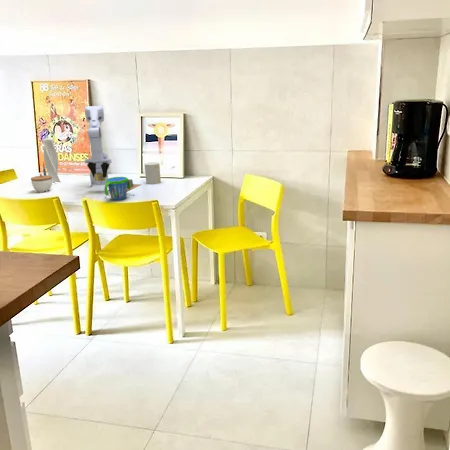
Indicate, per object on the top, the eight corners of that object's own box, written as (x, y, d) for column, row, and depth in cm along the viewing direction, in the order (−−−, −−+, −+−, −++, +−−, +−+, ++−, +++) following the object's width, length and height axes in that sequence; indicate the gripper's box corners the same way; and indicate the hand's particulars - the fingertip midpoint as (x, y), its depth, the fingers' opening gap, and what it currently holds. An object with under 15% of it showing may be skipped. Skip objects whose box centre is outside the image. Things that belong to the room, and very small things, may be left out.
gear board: (106, 193, 258) (105, 185, 257) (122, 185, 275) (121, 178, 274) (126, 194, 255) (126, 186, 254) (142, 186, 271) (141, 179, 270)
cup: (158, 186, 271) (156, 164, 267) (144, 186, 272) (142, 164, 269) (162, 183, 278) (161, 162, 275) (149, 183, 280) (147, 162, 276)
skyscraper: (57, 180, 297) (50, 133, 289) (63, 182, 292) (57, 134, 284) (44, 182, 291) (36, 135, 283) (50, 184, 286) (43, 136, 278)
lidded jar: (57, 189, 273) (55, 172, 271) (44, 193, 264) (42, 176, 261) (41, 188, 277) (39, 172, 274) (28, 192, 267) (26, 175, 264)
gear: (122, 187, 264) (121, 181, 263) (123, 185, 270) (122, 179, 269) (132, 187, 265) (131, 181, 264) (133, 185, 270) (132, 178, 269)
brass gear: (92, 181, 255) (91, 174, 254) (98, 178, 260) (97, 172, 259) (101, 181, 253) (101, 174, 252) (107, 179, 258) (106, 172, 257)
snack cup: (112, 203, 237) (110, 182, 234) (99, 200, 244) (97, 180, 241) (137, 196, 248) (135, 177, 245) (125, 194, 255) (123, 175, 252)
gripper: (80, 152, 251) (83, 178, 255) (105, 152, 246) (108, 178, 250) (87, 150, 257) (90, 175, 261) (112, 150, 253) (115, 176, 257)
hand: (99, 177), depth 256 cm, fingers closed on brass gear, 5 cm apart
